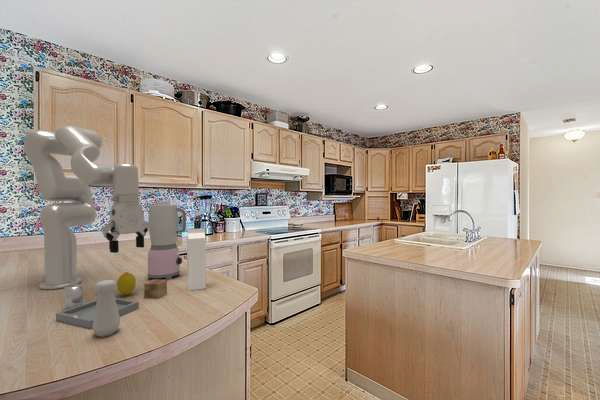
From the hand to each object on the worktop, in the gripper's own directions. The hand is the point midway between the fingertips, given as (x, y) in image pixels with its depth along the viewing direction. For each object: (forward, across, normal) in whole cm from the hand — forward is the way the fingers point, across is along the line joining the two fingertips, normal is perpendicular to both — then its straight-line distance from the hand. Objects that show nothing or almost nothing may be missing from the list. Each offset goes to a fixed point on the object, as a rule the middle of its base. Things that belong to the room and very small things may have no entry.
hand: (127, 249), depth 96 cm
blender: (+16, +22, +5) cm, 27 cm away
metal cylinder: (+16, -14, +5) cm, 22 cm away
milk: (+16, +15, -16) cm, 27 cm away
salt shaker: (+16, -21, -19) cm, 33 cm away
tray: (+16, -14, -6) cm, 22 cm away
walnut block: (+16, +3, -9) cm, 19 cm away
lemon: (+16, 0, +1) cm, 16 cm away
